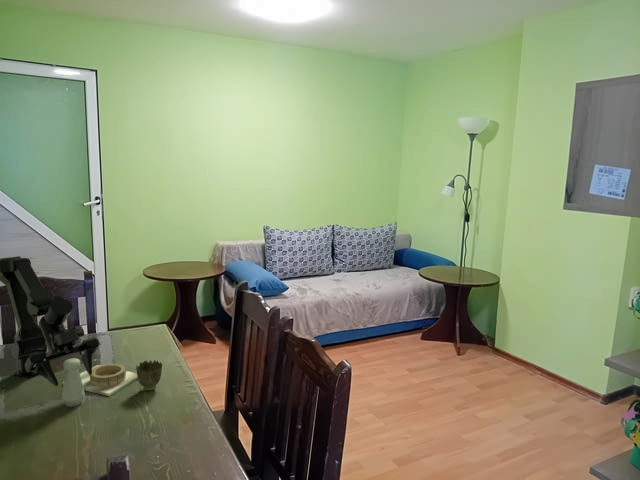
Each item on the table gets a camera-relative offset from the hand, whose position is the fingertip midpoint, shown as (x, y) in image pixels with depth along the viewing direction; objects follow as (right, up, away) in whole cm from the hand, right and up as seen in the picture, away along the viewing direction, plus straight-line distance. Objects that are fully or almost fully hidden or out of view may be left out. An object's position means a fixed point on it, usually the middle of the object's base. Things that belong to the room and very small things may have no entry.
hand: (74, 380), depth 130 cm
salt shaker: (-1, -7, +2) cm, 8 cm away
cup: (+17, -7, +11) cm, 21 cm away
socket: (+1, -5, +16) cm, 17 cm away
